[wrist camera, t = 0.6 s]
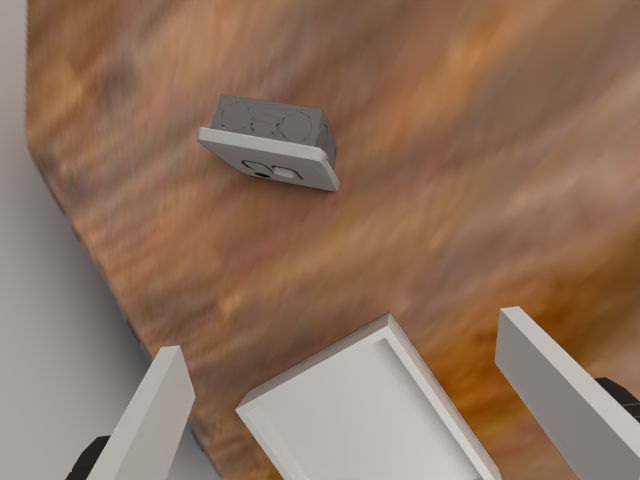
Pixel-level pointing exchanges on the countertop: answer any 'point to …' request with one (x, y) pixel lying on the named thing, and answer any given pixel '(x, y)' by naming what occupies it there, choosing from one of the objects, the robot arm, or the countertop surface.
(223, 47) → the countertop surface
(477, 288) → the countertop surface
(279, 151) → the electrical switch
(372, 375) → the white square tray
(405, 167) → the countertop surface
